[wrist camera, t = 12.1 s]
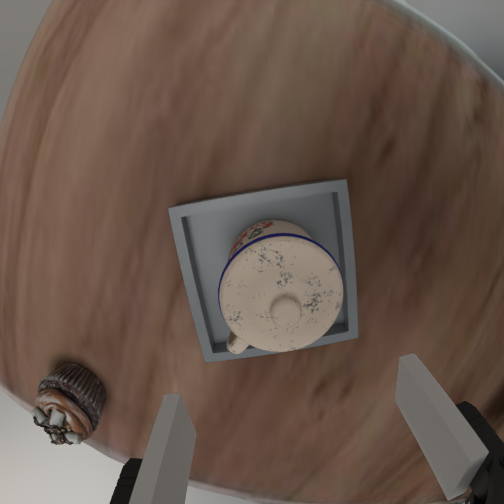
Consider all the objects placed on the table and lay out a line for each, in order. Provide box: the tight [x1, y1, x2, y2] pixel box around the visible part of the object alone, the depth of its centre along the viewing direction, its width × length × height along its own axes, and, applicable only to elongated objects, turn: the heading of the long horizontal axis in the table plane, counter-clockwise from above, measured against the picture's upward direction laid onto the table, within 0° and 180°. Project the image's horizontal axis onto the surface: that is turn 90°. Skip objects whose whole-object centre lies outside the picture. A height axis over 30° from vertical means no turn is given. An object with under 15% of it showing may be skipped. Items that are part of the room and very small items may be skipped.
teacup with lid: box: [218, 219, 344, 354], centre depth 25 cm, size 12×9×12 cm
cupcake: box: [31, 363, 106, 445], centre depth 31 cm, size 10×10×10 cm
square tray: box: [168, 178, 358, 362], centre depth 30 cm, size 16×16×3 cm
